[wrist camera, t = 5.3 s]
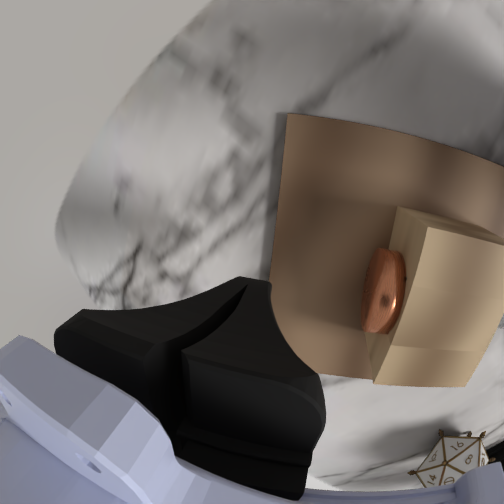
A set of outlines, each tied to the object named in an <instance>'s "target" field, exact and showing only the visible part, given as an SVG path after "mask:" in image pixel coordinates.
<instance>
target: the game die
mask: <svg viewBox="0 0 504 504" xmlns="http://www.w3.org/2000/svg"><path fill="white" fill-rule="evenodd" d="M485 432H486V431H484V432H482V433H481V434H480V437H471V435H472V433H471V432H469V433H468V435H467V437H458V436H444V433H443V431H442V430H440V429H439V433H438V434H439V436H440V437H441V438H440V439H439V441H438V442H437V444H436V445H435V447H434V448H433V449H432V451H431V452H430V454H429V455H428V456H427V458H426V459H425V460H424V462H423V463H422V464H421V465H420V467H419V468H418V469H417V471H414V470H413V471H412V470H411V471H410V472H408V474H410V475H413V474H416V475H417V477H418V478H419V480H420V481H421V483H422V484H423V486H424V487H425V488H428V487H435V486H441V485H447V484H452V483H455V482H456V481H457V480H458V479H459V478H460V477H461V476H462V475H463V474H465V473H466V472H467V471H469V470H471V469H473V468H476V467H480V466H484V465H487V464H488V462H493V461H494V460H495V458H494V457H493V458H490V459H489V458H488V456H487V453H486V450H485V448H484V445H483V443H482V440H481V439H482V438H484V436H485Z"/></svg>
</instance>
